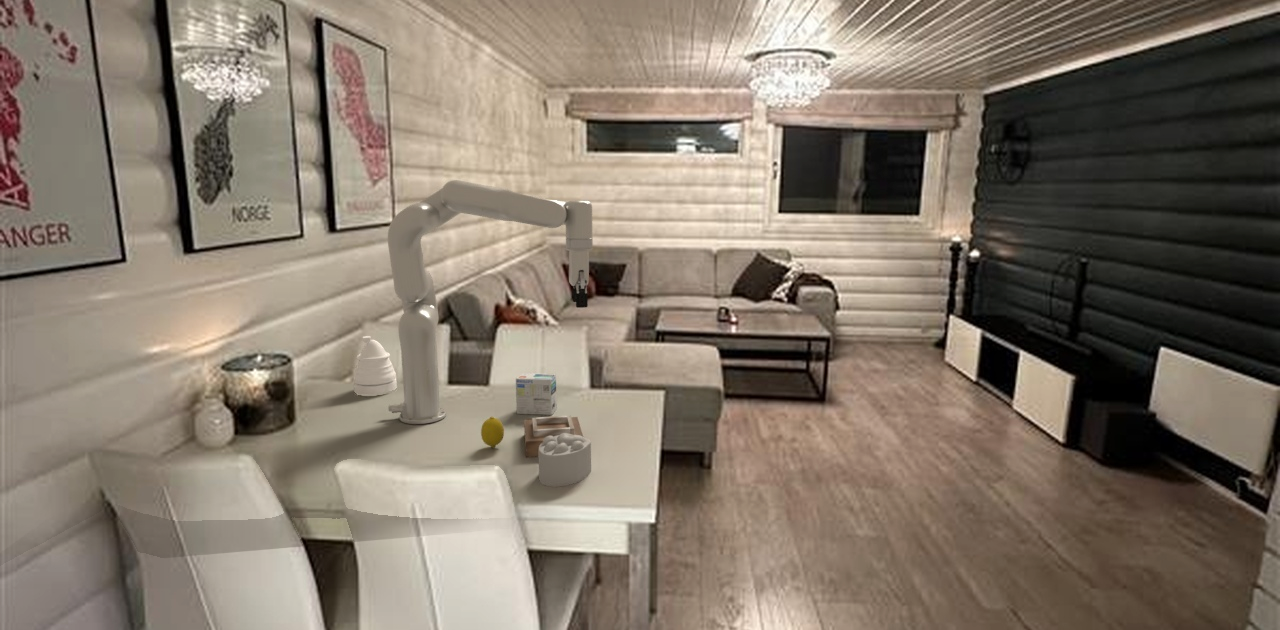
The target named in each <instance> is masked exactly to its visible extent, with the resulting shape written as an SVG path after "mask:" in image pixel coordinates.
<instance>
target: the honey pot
mask: <svg viewBox="0 0 1280 630" xmlns="http://www.w3.org/2000/svg"><path fill="white" fill-rule="evenodd" d="M362 341H363V342H364V343H365V345H364V346H363V348H362V350H361V353H359V354H358V355H356V360H358V361H357V363H356V364H357V365H356V367H355V371H354V375H353V391H354V392H355V393H358V394H374V393H383V392H388V391H392V390H395V389H396V388H397V389H398V382H397V373H396V371H395V369H394V366H393V363H392V362H391V359H390V357H391V354H390V352H387V351H386V350H385V348H384V347H383V345H382V344H381V343H380V342H379V341H377V340H375V339H372V336H371V335H366V336H365V335H364V336H362ZM355 393H354V394H355Z"/></svg>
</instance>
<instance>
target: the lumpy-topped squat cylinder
mask: <svg viewBox="0 0 1280 630" xmlns="http://www.w3.org/2000/svg"><path fill="white" fill-rule="evenodd" d="M591 473H592V441H591V440H590V438H587V437H584V436H583V437H582V436H580V435H572V434H568V433H562V434H560V435H557V436H554V437H553V436H547V437H545V438H544V440H543V443H541V444H540V446H539V449H538V480H540V481H539V483H541V484H542V485H543V484H544V485H543V486H545V485H546V487H550V486H554V488H555V487H556V486H558V487H564V486H565V485H566V486H570V485H573V483H574V484H576V483H577V484H578V483H579V482H581V481H582V480H584V479H585V478H586V477H588V476H589V475H590V474H591ZM569 484H570V485H569ZM566 486H565V487H566Z"/></svg>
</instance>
